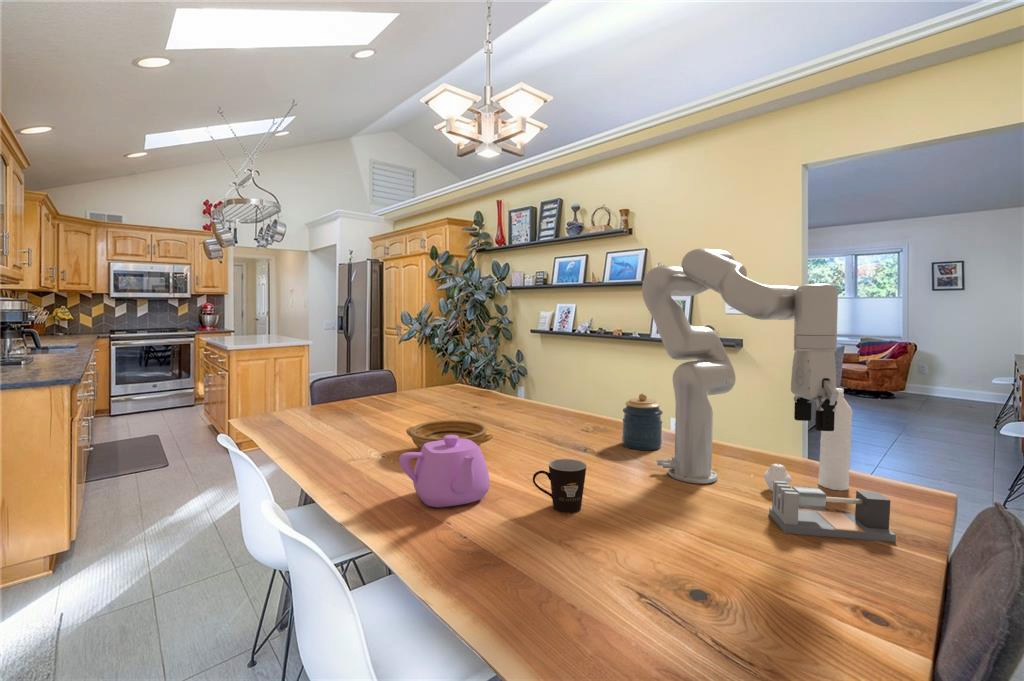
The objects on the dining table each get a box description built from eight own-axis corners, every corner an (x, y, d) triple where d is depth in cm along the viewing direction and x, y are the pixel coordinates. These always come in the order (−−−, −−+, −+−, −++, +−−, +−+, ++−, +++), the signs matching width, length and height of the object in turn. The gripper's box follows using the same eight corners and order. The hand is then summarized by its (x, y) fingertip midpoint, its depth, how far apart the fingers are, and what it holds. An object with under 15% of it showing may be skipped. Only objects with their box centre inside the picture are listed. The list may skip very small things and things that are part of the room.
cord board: (784, 533, 96) (786, 494, 95) (769, 514, 104) (770, 479, 104) (895, 542, 92) (897, 502, 92) (869, 522, 101) (871, 485, 100)
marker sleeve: (798, 508, 97) (799, 492, 97) (791, 501, 101) (792, 486, 101) (825, 510, 96) (826, 494, 96) (817, 503, 100) (818, 487, 100)
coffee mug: (588, 502, 110) (589, 461, 110) (582, 517, 102) (582, 473, 102) (541, 496, 114) (541, 455, 114) (531, 510, 106) (531, 467, 106)
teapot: (392, 493, 116) (392, 433, 115) (473, 480, 125) (473, 424, 124) (414, 532, 95) (413, 460, 94) (508, 514, 104) (508, 447, 103)
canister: (667, 451, 152) (668, 397, 151) (626, 451, 152) (627, 397, 151) (655, 440, 165) (656, 390, 164) (618, 440, 165) (619, 390, 164)
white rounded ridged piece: (767, 484, 123) (768, 458, 122) (794, 490, 118) (795, 463, 118) (759, 490, 118) (760, 463, 118) (786, 497, 114) (788, 469, 114)
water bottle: (848, 493, 117) (853, 393, 115) (817, 487, 121) (822, 391, 119) (848, 482, 124) (853, 389, 123) (819, 477, 128) (823, 386, 126)
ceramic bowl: (506, 447, 155) (506, 423, 154) (475, 471, 132) (475, 443, 132) (427, 439, 165) (427, 416, 164) (386, 459, 142) (386, 433, 142)
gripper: (778, 341, 107) (777, 416, 107) (814, 346, 90) (812, 434, 90) (814, 342, 106) (813, 417, 106) (858, 346, 88) (856, 435, 89)
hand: (813, 425), depth 98 cm, fingers open, 9 cm apart
